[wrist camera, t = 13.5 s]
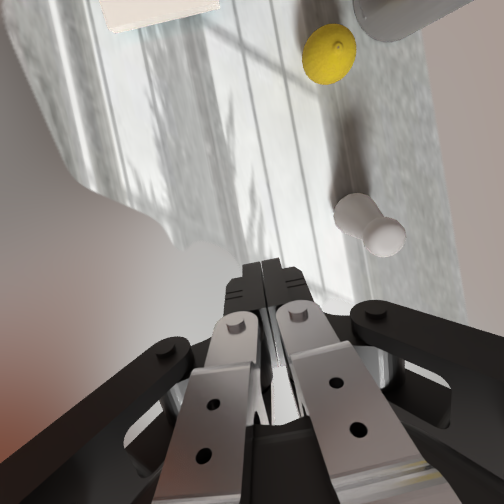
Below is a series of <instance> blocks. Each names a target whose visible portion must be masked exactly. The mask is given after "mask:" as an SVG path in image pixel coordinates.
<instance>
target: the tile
mask: <svg viewBox="0 0 504 504" xmlns="http://www.w3.org/2000/svg"><path fill="white" fill-rule="evenodd" d="M99 2H100V5H101V8H102V11H103V15H104V18H105V21H106V24H107V27H108V29H109V30H110V31H112V32H113V33H115V34H117V33H121V32H125V31H129V30H133V29H138V28H142V27H146V26H150V25H154V24H158V23H163V22H167V21H171V20H175V19H179V18H183V17H188V16H192V15H196V14H200V13H204V12H208V11H213V10H217V9H220V5H219V0H99Z"/></svg>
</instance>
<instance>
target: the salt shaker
mask: <svg viewBox="0 0 504 504" xmlns="http://www.w3.org/2000/svg"><path fill="white" fill-rule="evenodd" d="M333 217H334V220H335V224H336V226H337V227H338V228H339V229H340V230H341V231H342V232H343V233H346V234H348V235H350V236H353V237H355V238H358V239H360V240H363V243H364V246H365V247H366V249H367V250H368V251H369V252H370V253H371V254H373V255H376V256H379V257H389V256H392V255H394V254H396V253H397V252H399V251H400V249H401V248H402V247H403V246H404V243H405V240H406V233H405V229H404V228H403V226H402V225H401V224H400V223H399V222H398V221H397V220H395V219H392V218H389V217H384V216H383V214H382V213H381V211H380V210H379V208H378V207H377V205H376V203H375V202H374V201H373V200H372V199H371V197H370V196H368V195H365V194H362V193H354V194H348V195H347V196H345V197H344V198H342V199H341V200H340V201H339V203H338V204H337V205H336V207H335V210H334V216H333Z"/></svg>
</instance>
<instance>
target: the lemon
mask: <svg viewBox="0 0 504 504" xmlns="http://www.w3.org/2000/svg"><path fill="white" fill-rule="evenodd" d="M355 56H356V42H355V38H354V36H353V34H352V33H351V31H350V30H349V29H348V28H346V27H345V26H343V25H340V24H327V25H324V26H322V27H320V28H318V29H317V30H316V31H314V32H313V33H312V35H311V36H310V37H309V38H308V40H307V42H306V44H305V46H304V50H303V54H302V63H303V68H304V71H305V73H306V75H307V76H308V77H309V78H310V79H311V80H312V81H314V82H315V83H318V84H323V85H328V84H332V83H335V82H337V81H339V80H341V79H342V78H343V77H344V76H345V75H346V74H347V73H348V72H349V70H350V69H351V67H352V65H353V63H354V60H355Z"/></svg>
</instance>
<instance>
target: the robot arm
mask: <svg viewBox="0 0 504 504" xmlns="http://www.w3.org/2000/svg"><path fill="white" fill-rule="evenodd" d="M472 1H474V0H353V4H354V11H355V15H356V18H357V21H358V23H359V25H360V26H361V28H362V29H363V31H365V32H366V33H367V34H368V35H369V36H370V37H372V38H374V39H375V40H378V41H382V42H393V41H397V40H401V39H403V38H405V37H407V36H409V35H411V34H412V33H414V32H416V31H418V30H420V29H422V28H424V27H426V26H428V25H429V24H431V23H433V22H435V21H437V20H438V19H440V18H442V17H444V16H446V15H447V14H450V13H452V12H453V11H455V10H457V9H459V8H461V7H463V6H464V5H466V4H468V3H470V2H472ZM262 269H263V272H262ZM263 276H264V277H263ZM274 338H275V339H274ZM275 342H276V346H275ZM276 347H277V351H278V356H279V361H280V365H281V366H285V365H286V368H287V372H288V377H289V382H290V387H291V390H292V394H293V397H294V401H295V404H296V408H297V411H298V415H299V419H296V420H294V421H292V422H289V423H287V424H284V425H275V418H274V417H275V416H274V386H273V382H272V378H273V373H272V368H275V367H279V366H278V359H277V353H276ZM405 360H406V361H408V362H411V363H413V364H415V365H417V366H420V367H422V368H424V369H427V370H429V371H431V372H434V373H436V374H438V375H439V376H441V377H442V378H443V379H444V380H445V381H446V382H447V383H448V384H449V386H450V388H451V389H449V388H447V387H445V386H443V385H440V384H438V383H436V382H434V381H432V380H430V379H427V378H425V377H423V376H421V375H419V374H416V373H414V372H412V371H410V370H407V369H405ZM158 400H159V401H160V404H161V406H162V408H163V412H162V413H160V414H159V416H157V417H156V418H155V419H154V420H153V421H152V422H151V423H150V424H149V425H148V426H147V427H146V428H145V429H144V430H143V431H142V432H141V433H140V434H139V435H138V436H137V437H136V438H135V439H134V440H133V441H132V442H131V443H130V444H129V445H128V446H127V447H126V448H124V445H123V441H124V437H125V435H126V432H127V431H128V429H129V428H130V427H131V426H132V425H133V424H134V423H135V422H136V421H137V420H138V419H139V418H140V417H141V416H142V415H143V414H144V413H146V412H147V411H148V410H149V409H150V408H151V407H152V406H153V405H154V404H155V403H156V402H157V401H158ZM0 504H504V337H502V336H498V335H495V334H492V333H489V332H485V331H482V330H479V329H475V328H472V327H469V326H466V325H462V324H459V323H456V322H453V321H449V320H446V319H443V318H440V317H436V316H433V315H430V314H427V313H423V312H420V311H417V310H414V309H410V308H407V307H404V306H400V305H397V304H394V303H391V302H387V301H382V300H368V301H364V302H361V303H358V304H356V305H355V306H354V307H353V308H352V309H351V311H350V316H339V315H331V314H327V313H324V312H323V311H322V309H321V308H320V306H319V305H318V304H316V303H315V302H314V300H313V298H312V296H311V293H310V291H309V288H308V286H307V284H306V281H305V279H304V276H303V273H302V271H300V270H299V269H297V268H296V267H289V268H284V269H282V267H281V264H280V260H279V258H274V259H269V260H264V261H262V268H261V263H260V262H254V263H249V264H244V265H243V277H239V278H234V279H231V281H230V282H229V283H228V284H227V286H226V295H225V304H224V314H223V317H222V318H221V319H220V320H219V321H218V322H217V323H216V324H215V327H214V331H213V334H212V337H210V338H209V339H207V340H205V341H203V342H200V343H197V344H195V345H193V346H190V343H189V341H188V340H187V339H186V338H184V337H178V336H177V337H170V338H166V339H163V340H161V341H159V342H157V343H156V344H154V345H153V346H151V347H150V348H149V349H148V350H146V351H145V352H144V353H142V354H141V355H140V356H138V357H137V358H136V359H135V360H133V361H132V362H131V363H129V364H128V365H127V366H125V367H124V368H123V369H122V370H120V371H119V372H118V373H116V374H115V375H114V376H113V377H111V378H110V379H109V380H107V381H106V382H105V383H104V384H102V385H101V386H100V387H98V388H97V389H96V390H95V391H93V392H92V393H91V394H89V395H88V396H87V397H86V398H84V399H83V400H82V401H80V402H79V403H78V404H76V405H75V406H74V407H73V408H71V409H70V410H69V411H67V412H66V413H65V414H64V415H62V416H61V417H60V418H58V419H57V420H56V421H55V422H53V423H52V424H51V425H49V426H48V427H47V428H46V429H44V430H43V431H42V432H40V433H39V434H38V435H36V436H35V437H34V438H33V439H32V440H30V441H29V442H28V443H26V444H25V445H24V446H22V447H21V448H20V449H18V450H17V451H16V452H15V453H13V454H12V455H11V456H9V457H8V458H7V459H5V460H4V461H3V462H2V463H0Z"/></svg>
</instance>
